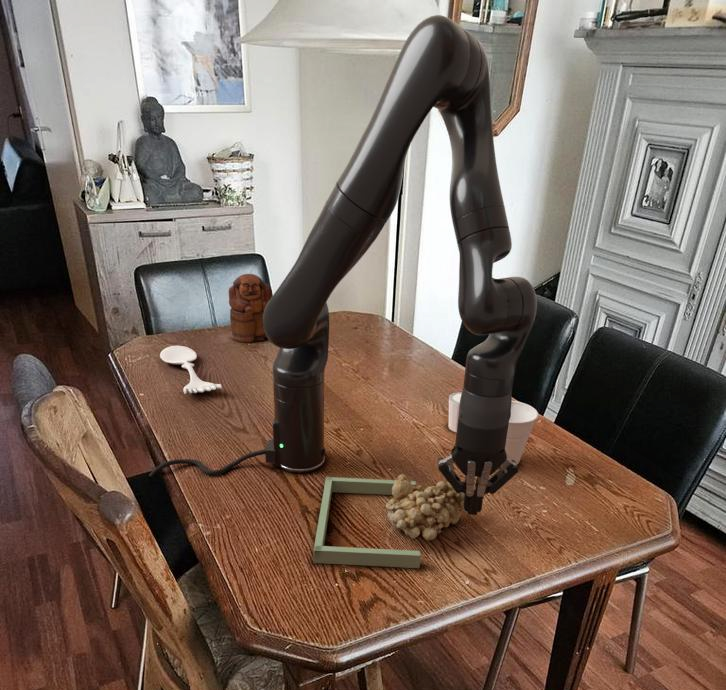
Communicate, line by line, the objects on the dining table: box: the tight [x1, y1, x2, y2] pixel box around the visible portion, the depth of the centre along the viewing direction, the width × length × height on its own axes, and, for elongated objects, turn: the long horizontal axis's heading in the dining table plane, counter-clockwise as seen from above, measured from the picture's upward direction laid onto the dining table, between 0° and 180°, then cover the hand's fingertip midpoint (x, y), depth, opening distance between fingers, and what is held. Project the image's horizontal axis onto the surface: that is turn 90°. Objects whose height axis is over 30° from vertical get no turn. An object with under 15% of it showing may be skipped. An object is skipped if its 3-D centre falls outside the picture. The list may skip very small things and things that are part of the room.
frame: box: [313, 476, 422, 569], centre depth 104 cm, size 16×21×2 cm
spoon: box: [159, 345, 223, 395], centre depth 155 cm, size 9×32×4 cm, turn 26°
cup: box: [499, 400, 539, 468], centre depth 122 cm, size 10×10×11 cm
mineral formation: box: [385, 473, 465, 541], centre depth 103 cm, size 8×13×15 cm
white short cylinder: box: [447, 391, 462, 434], centre depth 135 cm, size 7×7×7 cm
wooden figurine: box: [228, 273, 274, 343], centre depth 176 cm, size 12×6×18 cm, turn 115°
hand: (471, 512), depth 103 cm, fingers closed
